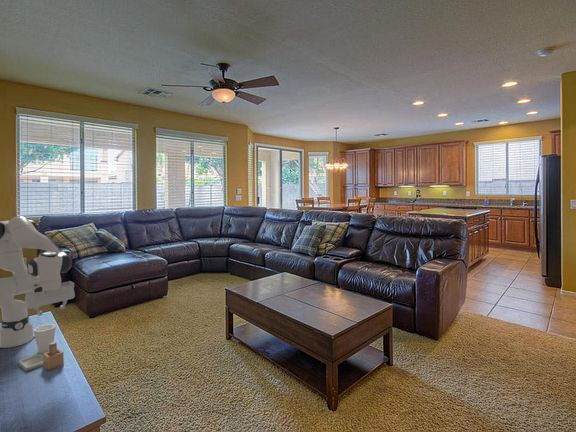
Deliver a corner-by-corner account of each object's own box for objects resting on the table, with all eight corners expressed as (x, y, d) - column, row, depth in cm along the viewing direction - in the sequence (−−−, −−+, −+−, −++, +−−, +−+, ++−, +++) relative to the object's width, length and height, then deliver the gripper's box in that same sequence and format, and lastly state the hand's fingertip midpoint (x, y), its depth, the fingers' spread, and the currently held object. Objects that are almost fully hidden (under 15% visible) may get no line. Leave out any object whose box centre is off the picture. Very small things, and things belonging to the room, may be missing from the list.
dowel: (48, 365, 157) (48, 343, 156) (55, 362, 160) (55, 341, 159) (51, 366, 156) (50, 345, 155) (58, 364, 158) (57, 343, 157)
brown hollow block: (43, 367, 157) (43, 353, 156) (58, 361, 162) (57, 348, 162) (48, 371, 153) (48, 357, 153) (63, 365, 159) (63, 352, 158)
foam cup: (44, 355, 168) (43, 332, 167) (30, 353, 170) (29, 330, 169) (60, 347, 177) (59, 324, 176) (47, 345, 179) (46, 323, 178)
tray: (18, 363, 159) (17, 360, 159) (39, 356, 167) (39, 353, 167) (26, 371, 153) (26, 368, 153) (48, 363, 160) (48, 360, 160)
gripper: (71, 279, 165) (72, 304, 166) (22, 288, 148) (23, 317, 149) (76, 281, 162) (77, 307, 163) (27, 291, 145) (28, 320, 146)
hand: (51, 312), depth 156 cm, fingers open, 8 cm apart
